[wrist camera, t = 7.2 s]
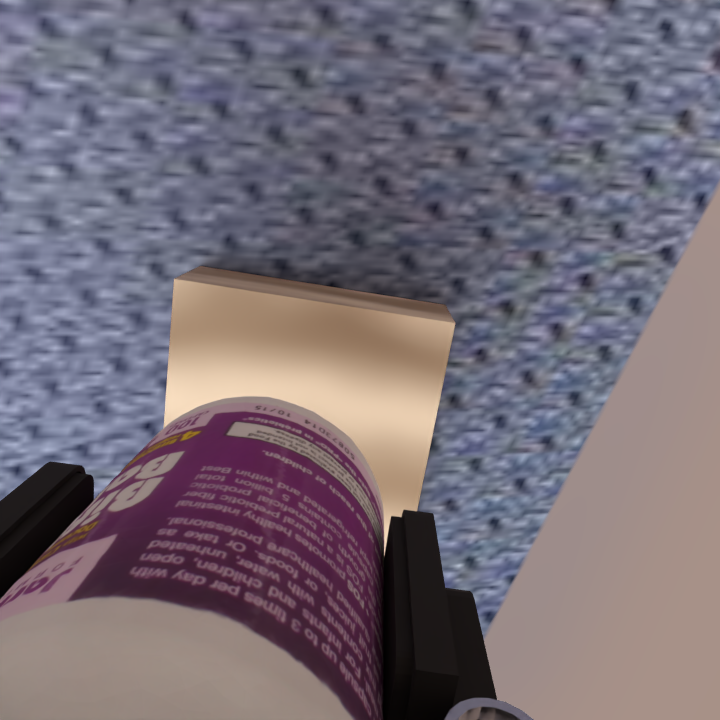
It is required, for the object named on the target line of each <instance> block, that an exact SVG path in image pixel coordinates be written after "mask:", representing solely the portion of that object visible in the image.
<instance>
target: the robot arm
mask: <svg viewBox="0 0 720 720" xmlns="http://www.w3.org/2000/svg"><path fill="white" fill-rule="evenodd" d="M93 500H94V480H93V477H92V476H91V475H88V474H86V473H85V469H84V468H83V467H82V466H80V465H73V464H65V463H58V462H49V463H47V464H45V465H44V466H43V467H42V468H40V469H39V470H38V471H37V472H36V473H34V474H33V475H32V476H31V477H29V478H28V479H27V480H26V481H24V482H23V483H22V484H21V485H20V486H18V487H17V488H16V489H15V490H13V491H12V492H11V493H10V494H8V495H7V496H6V497H5V498H4V499H2V500H1V501H0V599H1V598H2V597H3V596H4V595H5V594H6V592H7V591H8V590H9V589H10V588H11V587H12V586H13V585H14V583H15V582H16V581H17V580H18V579H20V578H21V577H22V576H23V575H24V574H25V573H26V572H27V571H28V570H29V569H30V567H31V566H32V565H33V564H34V563H35V562H36V560H37V559H38V558H39V557H40V556H41V555H42V554H43V553H44V552H45V551H46V550H47V549H48V548H49V547H50V546H51V545H52V544H53V543H54V542H55V541H56V540H57V539H58V538H59V536H60V535H61V534H62V533H63V532H64V531H65V530H66V529H67V528H68V527H69V526H70V524H71V523H72V522H73V521H74V520H75V519H76V518H77V517H78V516H79V515H80V514H81V513H82V512H83V511H84V510H85V509H86V508H87V507H88V506H89V505H90V504H91V503H92V502H93ZM383 716H384V720H533V719H532V718H531V717H529V716H528V715H527V714H526V713H524V712H523V711H522V710H520V709H518V708H516V707H514V706H512V705H510V704H508V703H506V702H503V701H499V700H497V698H496V693H495V688H494V684H493V680H492V675H491V671H490V666H489V662H488V658H487V653H486V649H485V645H484V640H483V635H482V631H481V627H480V622H479V618H478V613H477V609H476V604H475V600H474V597H473V594H472V593H471V592H470V591H465V590H458V589H450V588H445V584H444V577H443V571H442V565H441V559H440V552H439V546H438V540H437V533H436V527H435V521H434V515H433V514H432V513H425V512H418V511H411V510H403V513H402V517H397V516H391V519H390V525H389V531H388V537H387V543H386V549H385V555H384V708H383Z"/></svg>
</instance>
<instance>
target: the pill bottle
mask: <svg viewBox="0 0 720 720" xmlns="http://www.w3.org/2000/svg"><path fill="white" fill-rule="evenodd" d="M383 708H384V512H383V502H382V498H381V494H380V490H379V486H378V484H377V481H376V479H375V477H374V474H373V472H372V470H371V468H370V466H369V464H368V462H367V461H366V459H365V457H364V456H363V454H362V453H361V451H360V450H359V449H358V447H357V446H356V445H355V443H354V442H353V440H352V439H351V438H350V437H349V436H347V435H346V434H345V433H344V432H343V431H341V430H340V429H339V428H337V427H336V426H335V425H333V424H332V423H330V422H329V421H327V420H326V419H324V418H322V417H321V416H319V415H318V414H316V413H315V412H313V411H311V410H308V409H306V408H303V407H301V406H298V405H296V404H293V403H290V402H286V401H283V400H280V399H275V398H271V397H259V396H243V397H233V398H224V399H221V400H217V401H213V402H210V403H207V404H204V405H201V406H198V407H196V408H194V409H192V410H191V411H189V412H187V413H185V414H183V415H181V416H180V417H178V418H176V419H175V420H173V421H172V422H170V423H169V424H168V425H167V426H166V427H165V428H164V429H162V430H161V431H160V432H159V433H158V434H157V435H156V436H155V437H154V438H153V439H152V440H151V441H150V442H149V443H148V444H147V445H146V446H145V447H144V448H143V449H142V450H141V451H140V452H139V453H138V454H137V455H136V456H135V457H134V458H133V459H132V460H131V461H130V462H129V463H128V464H127V465H126V467H125V468H124V469H123V470H122V471H121V472H120V474H119V475H118V476H116V477H115V478H114V479H113V480H112V481H111V482H110V484H109V485H108V486H107V487H106V488H105V489H104V490H103V491H102V492H101V493H100V494H99V495H98V496H97V497H96V498H95V499H94V500H93V502H92V503H91V504H90V505H89V506H88V507H87V508H86V509H85V510H84V511H83V512H82V513H81V514H80V515H79V516H78V517H77V518H76V519H75V520H74V521H73V522H72V523H71V524H70V526H69V527H68V528H67V529H66V530H65V531H64V532H63V533H62V534H61V535H60V536H59V538H58V539H57V540H56V541H55V542H54V543H53V544H52V545H51V546H50V547H49V548H48V549H47V550H46V551H45V552H44V553H43V554H42V555H41V556H40V557H39V558H38V559H37V560H36V562H35V563H34V564H33V565H32V566H31V567H30V569H29V570H28V571H27V572H26V573H25V574H24V575H23V576H22V577H21V578H20V579H18V580H17V581H16V582H15V583H14V585H13V586H12V587H11V588H10V589H9V590H8V591H7V592H6V594H5V595H4V596H3V597H2V598H1V599H0V720H384V716H383Z"/></svg>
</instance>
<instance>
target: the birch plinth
mask: <svg viewBox="0 0 720 720" xmlns="http://www.w3.org/2000/svg"><path fill="white" fill-rule="evenodd" d="M454 327H455V322H454V320H453V318H452V316H451V314H450V313H449V311H448V309H447V307H446V305H443V304H437V303H431V302H424V301H418V300H412V299H405V298H399V297H393V296H386V295H380V294H374V293H367V292H361V291H355V290H349V289H342V288H336V287H330V286H323V285H317V284H311V283H304V282H298V281H292V280H285V279H279V278H273V277H267V276H260V275H254V274H248V273H241V272H235V271H229V270H222V269H216V268H210V267H203V266H199V267H197V268H195V269H193V270H191V271H189V272H187V273H185V274H183V275H181V276H179V277H177V278H175V279H174V288H173V303H172V317H171V331H170V346H169V360H168V374H167V389H166V403H165V417H164V428H165V427H166V426H167V425H168V424H169V423H170V422H172V421H173V420H175V419H176V418H178V417H180V416H181V415H183V414H185V413H187V412H189V411H191V410H192V409H194V408H196V407H198V406H201V405H204V404H207V403H210V402H213V401H217V400H221V399H224V398H233V397H243V396H259V397H271V398H275V399H280V400H283V401H286V402H290V403H293V404H296V405H298V406H301V407H303V408H306V409H308V410H311V411H313V412H315V413H316V414H318V415H319V416H321V417H322V418H324V419H326V420H327V421H329V422H330V423H332V424H333V425H335V426H336V427H337V428H339V429H340V430H341V431H343V432H344V433H345V434H346V435H347V436H349V437H350V438H351V439H352V440H353V442H354V443H355V445H356V446H357V447H358V449H359V450H360V451H361V453H362V454H363V456H364V457H365V459H366V461H367V462H368V464H369V466H370V468H371V470H372V472H373V474H374V477H375V479H376V481H377V484H378V486H379V490H380V494H381V498H382V502H383V512H384V555H385V549H386V543H387V537H388V531H389V525H390V519H391V516H397V517H402V513H403V510H411V511H417V508H418V503H419V498H420V494H421V489H422V484H423V479H424V474H425V469H426V464H427V459H428V454H429V450H430V445H431V440H432V435H433V430H434V425H435V420H436V415H437V411H438V406H439V401H440V396H441V391H442V386H443V381H444V376H445V371H446V367H447V362H448V357H449V352H450V347H451V342H452V337H453V332H454Z"/></svg>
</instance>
